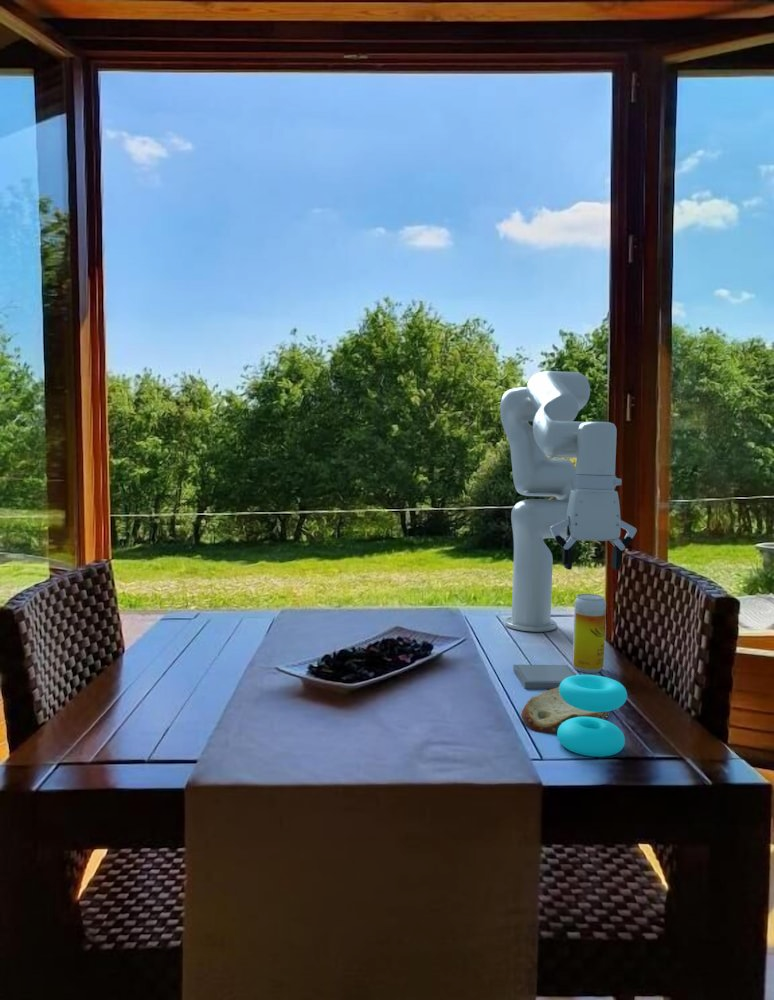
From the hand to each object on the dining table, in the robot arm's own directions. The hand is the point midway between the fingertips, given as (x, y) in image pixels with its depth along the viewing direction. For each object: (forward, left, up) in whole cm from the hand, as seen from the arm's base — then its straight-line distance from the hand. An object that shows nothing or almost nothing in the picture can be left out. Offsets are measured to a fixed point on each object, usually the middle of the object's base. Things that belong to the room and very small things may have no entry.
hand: (591, 568), depth 154 cm
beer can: (0, 0, -21) cm, 21 cm away
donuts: (+39, -11, -21) cm, 45 cm away
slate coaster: (+7, -10, -21) cm, 24 cm away
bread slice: (+25, -11, -21) cm, 35 cm away
